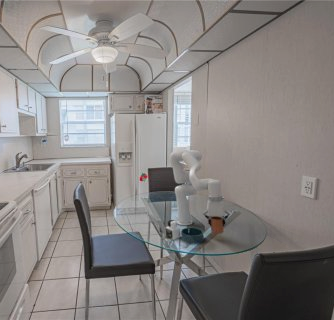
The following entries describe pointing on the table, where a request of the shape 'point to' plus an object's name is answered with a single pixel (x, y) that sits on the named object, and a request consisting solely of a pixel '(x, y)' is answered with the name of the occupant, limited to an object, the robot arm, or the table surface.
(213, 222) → the orange mug
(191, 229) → the dark teal bowl
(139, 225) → the table surface
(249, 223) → the table surface
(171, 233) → the medicine bottle
